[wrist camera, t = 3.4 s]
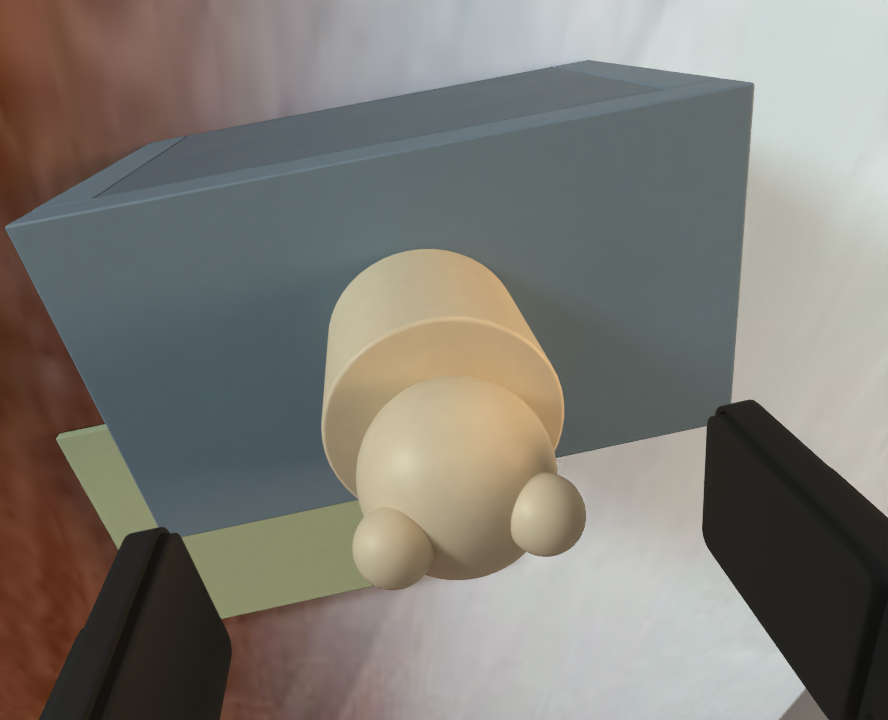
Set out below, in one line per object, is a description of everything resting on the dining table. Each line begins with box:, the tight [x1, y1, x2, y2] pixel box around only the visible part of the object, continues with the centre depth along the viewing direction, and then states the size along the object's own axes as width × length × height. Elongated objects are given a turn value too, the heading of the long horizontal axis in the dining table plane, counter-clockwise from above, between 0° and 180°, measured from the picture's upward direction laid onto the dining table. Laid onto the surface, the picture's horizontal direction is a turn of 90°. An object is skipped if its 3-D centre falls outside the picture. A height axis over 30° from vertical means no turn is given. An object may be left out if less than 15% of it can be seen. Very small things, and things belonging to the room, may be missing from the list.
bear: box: [321, 249, 586, 590], centre depth 14 cm, size 5×6×8 cm
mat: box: [56, 424, 375, 619], centre depth 34 cm, size 20×14×1 cm
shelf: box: [6, 60, 754, 537], centre depth 22 cm, size 18×10×12 cm, turn 99°
